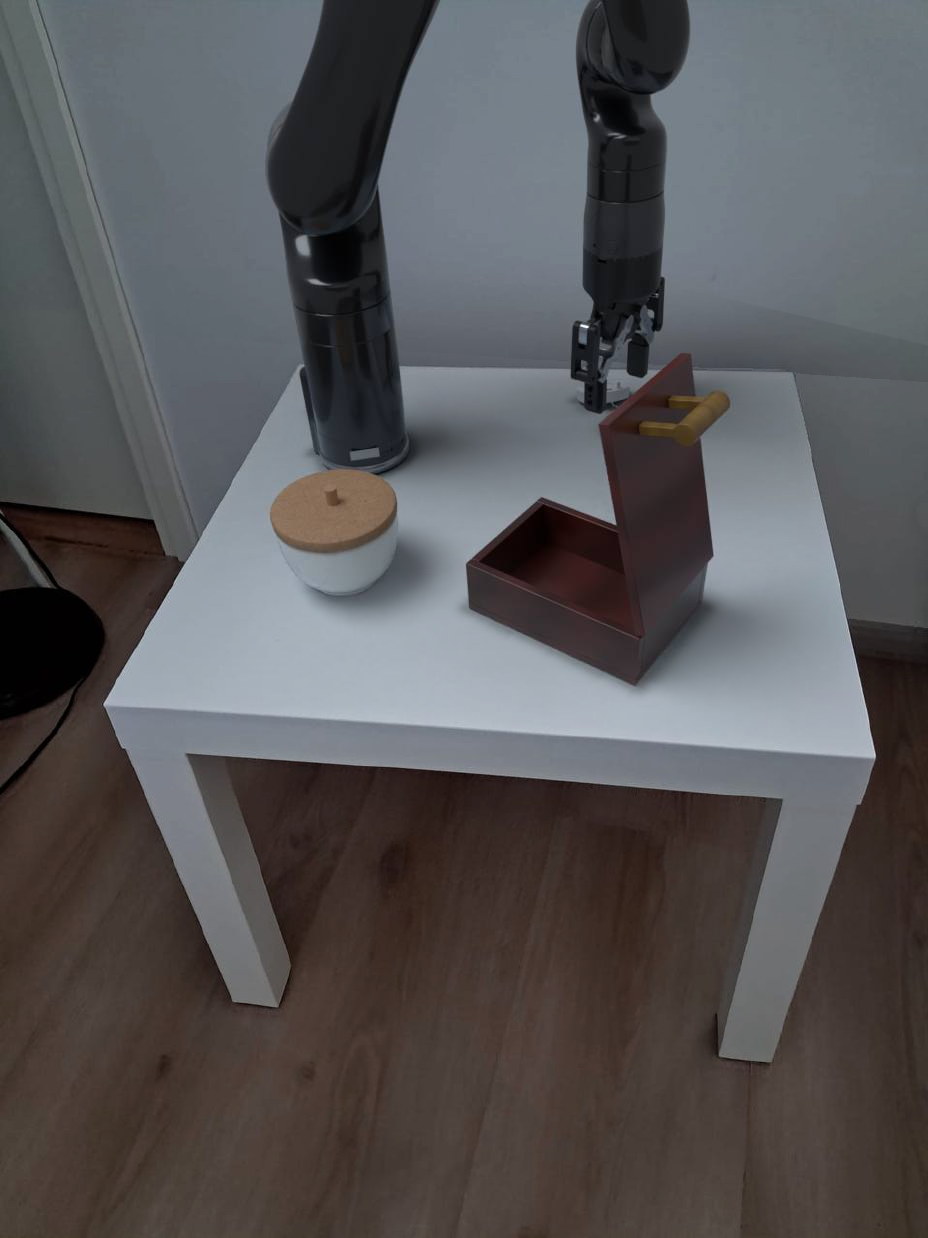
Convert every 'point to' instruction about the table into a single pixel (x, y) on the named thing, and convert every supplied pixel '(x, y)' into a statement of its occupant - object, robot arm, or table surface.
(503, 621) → the mahogany keepsake chest
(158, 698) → the table surface
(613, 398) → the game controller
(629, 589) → the cover
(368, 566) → the trinket box
